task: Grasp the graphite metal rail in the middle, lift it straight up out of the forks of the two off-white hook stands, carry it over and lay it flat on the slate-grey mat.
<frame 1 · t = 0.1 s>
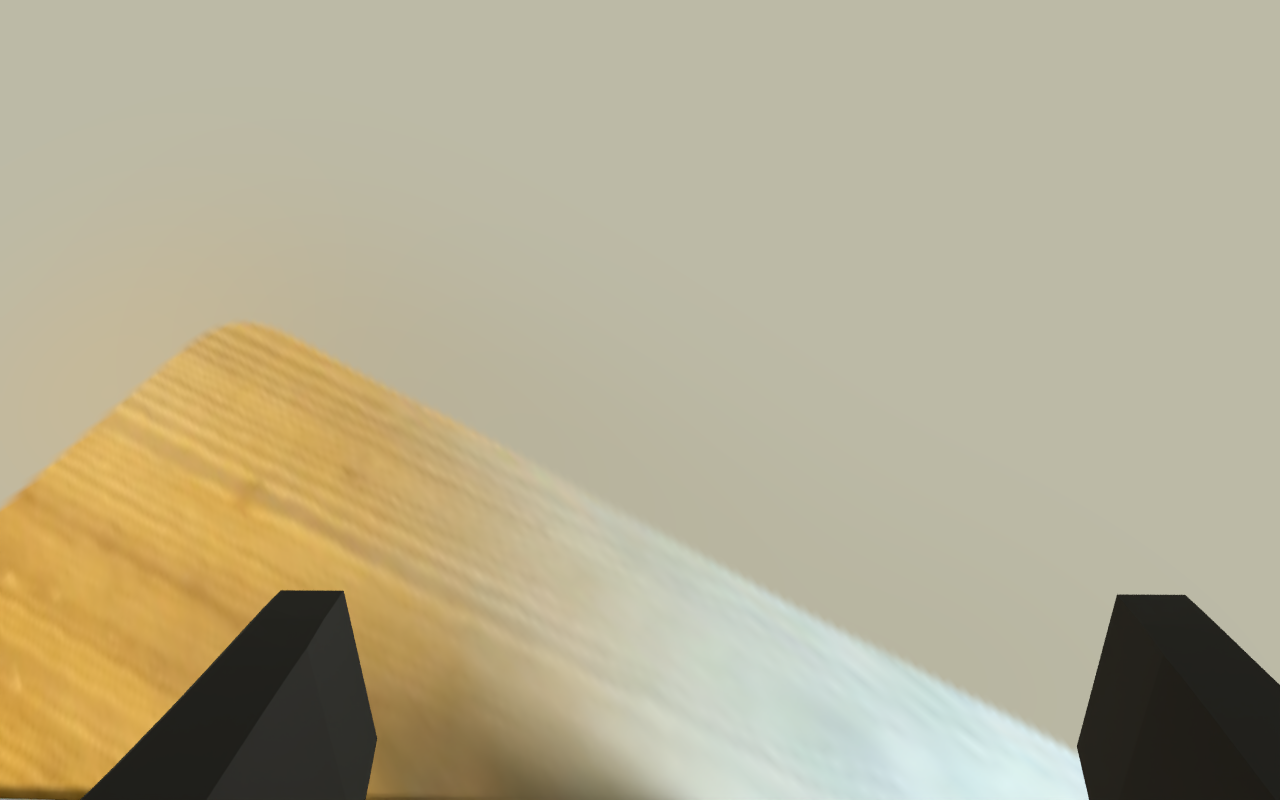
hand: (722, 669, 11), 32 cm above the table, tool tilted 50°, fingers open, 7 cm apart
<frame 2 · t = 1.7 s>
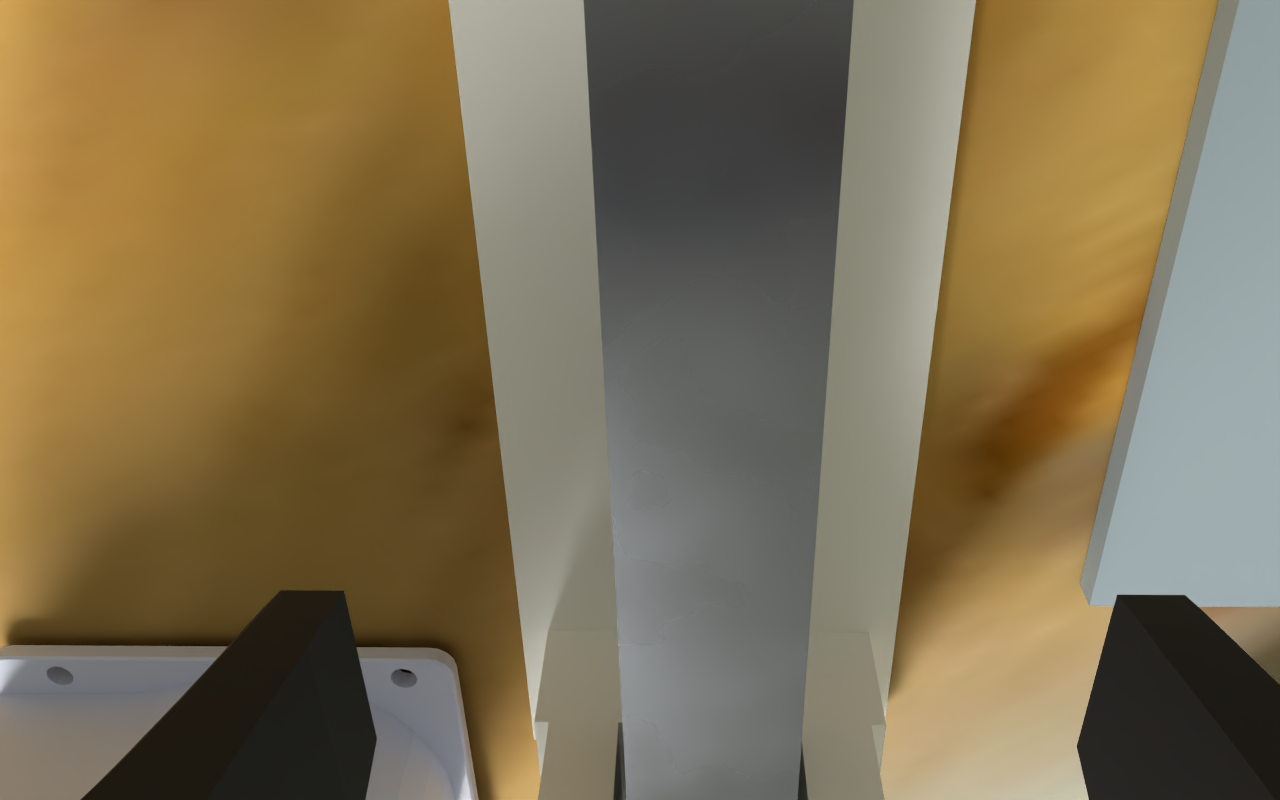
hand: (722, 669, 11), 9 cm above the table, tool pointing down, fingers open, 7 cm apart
rail: (710, 371, 16), point 3 cm above the table, touching hook stands
hook stands: (708, 275, 18), on the table
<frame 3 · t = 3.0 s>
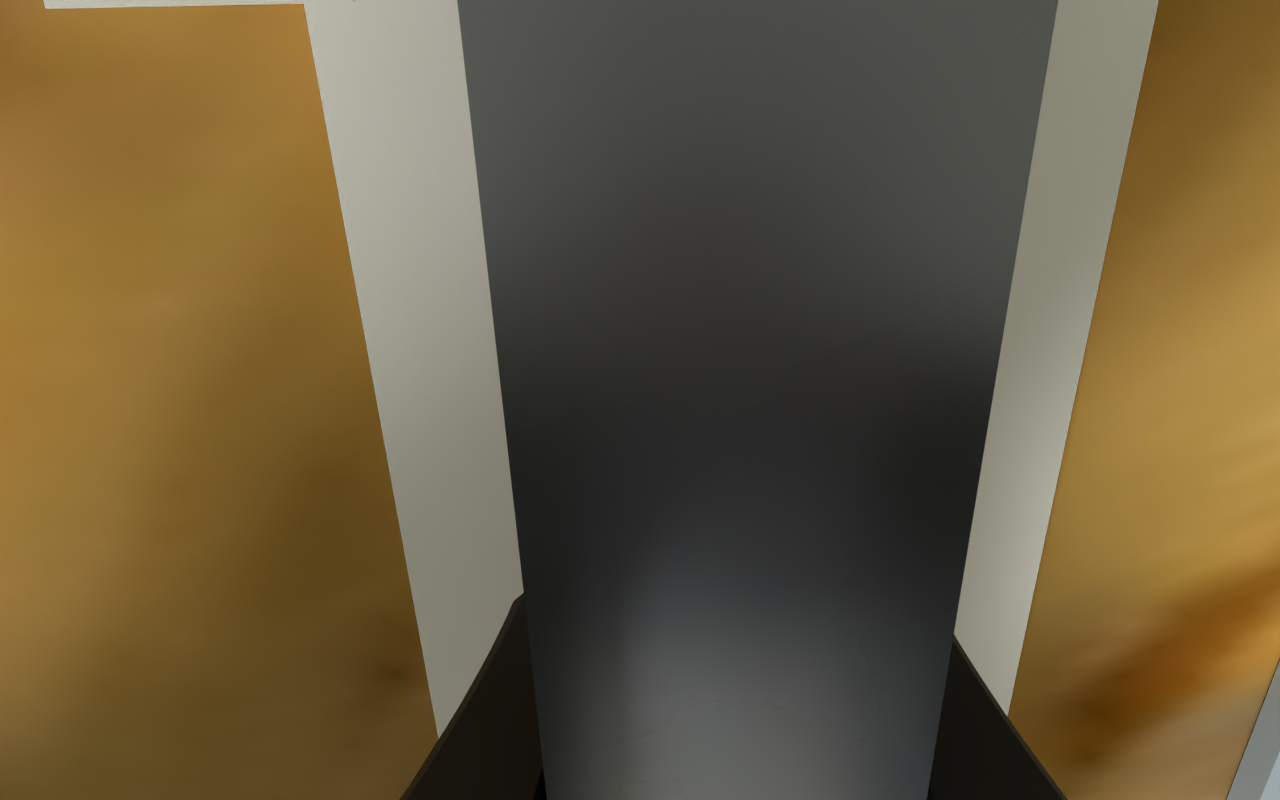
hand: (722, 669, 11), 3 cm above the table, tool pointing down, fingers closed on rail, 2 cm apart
rail: (723, 697, 11), point 3 cm above the table, touching gripper, hook stands
hook stands: (717, 499, 13), on the table
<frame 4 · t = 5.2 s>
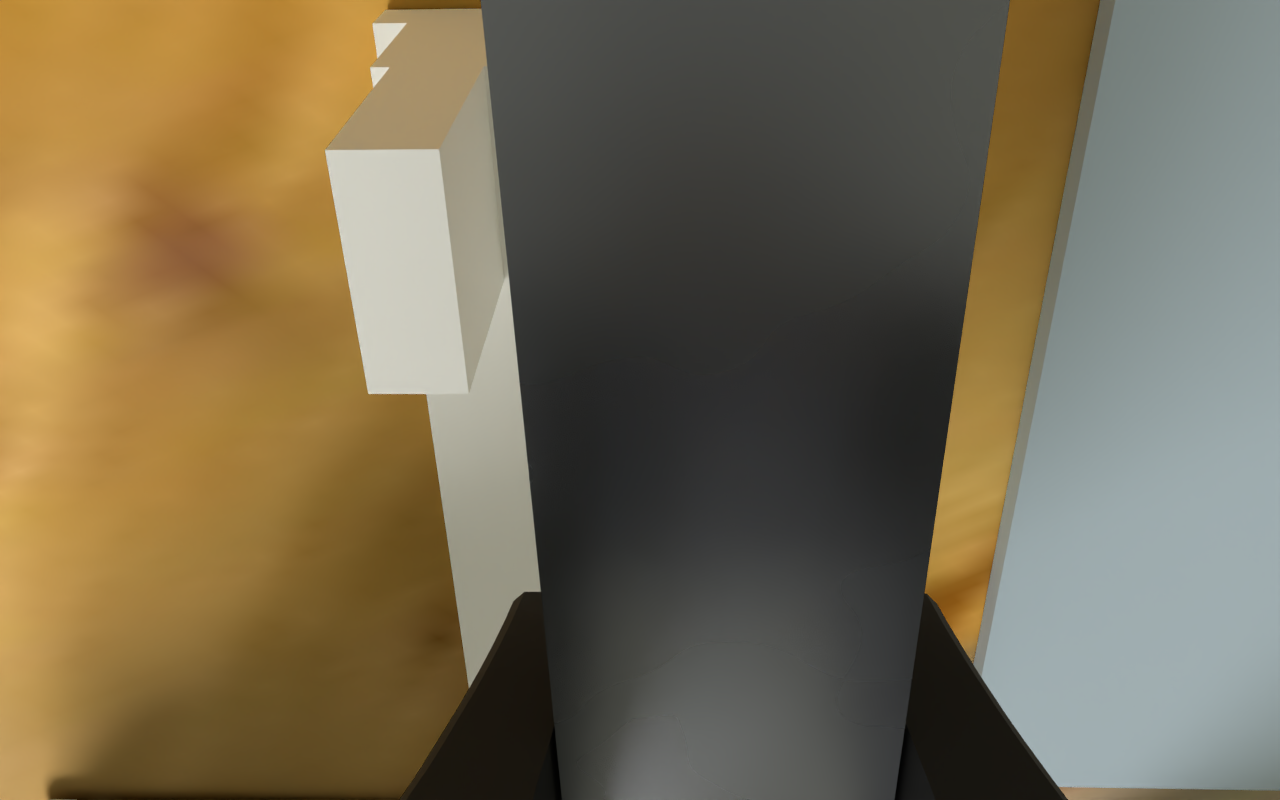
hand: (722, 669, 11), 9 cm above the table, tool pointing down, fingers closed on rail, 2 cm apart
rail: (719, 654, 11), point 9 cm above the table, touching gripper
hook stands: (635, 533, 22), on the table
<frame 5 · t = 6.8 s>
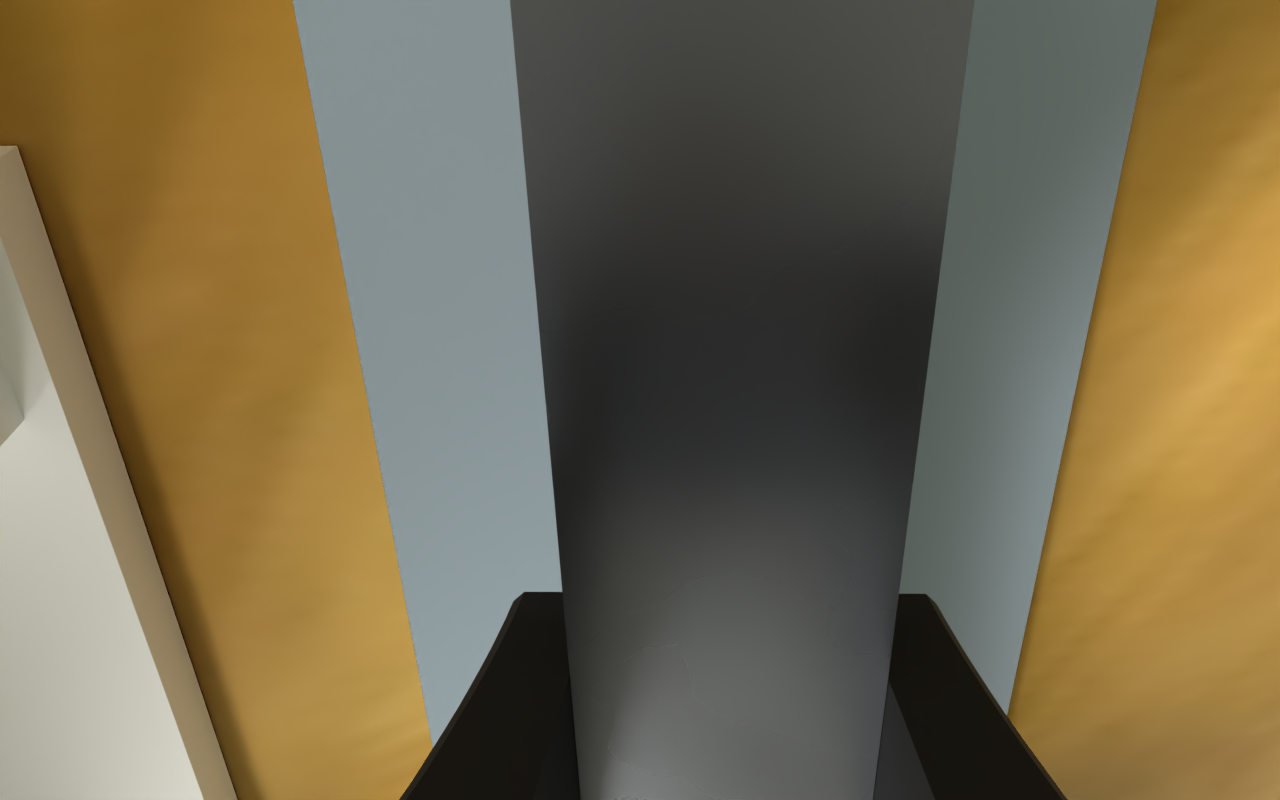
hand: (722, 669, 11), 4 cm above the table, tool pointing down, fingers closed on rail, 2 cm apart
mat: (714, 449, 14), on the table
rail: (719, 605, 12), point 3 cm above the table, touching gripper
hook stands: (7, 765, 18), on the table
when the fingers open (2 cm above the table, at t = 7.5 s): rail stays where it is, resting on mat.
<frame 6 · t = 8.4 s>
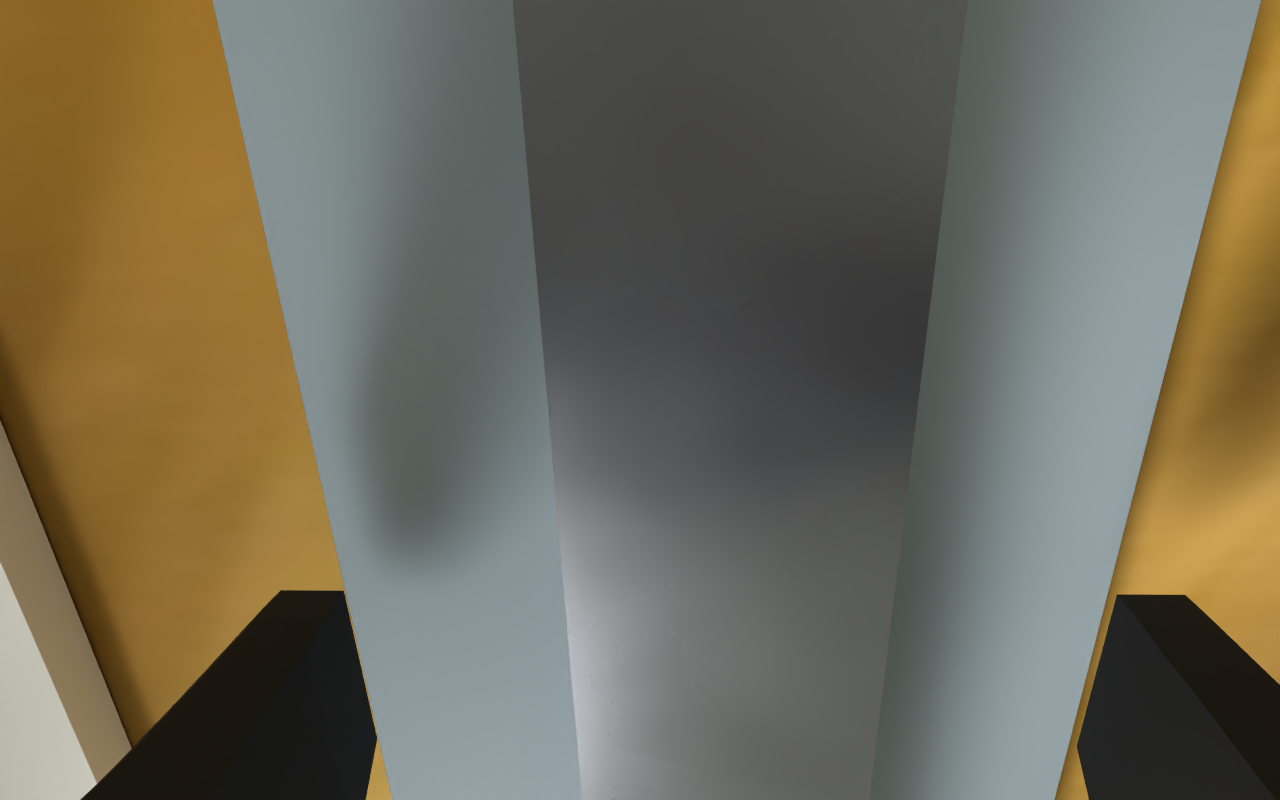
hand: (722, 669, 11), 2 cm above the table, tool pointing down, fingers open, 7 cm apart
mat: (719, 547, 12), on the table
rail: (718, 598, 12), point 1 cm above the table, touching mat
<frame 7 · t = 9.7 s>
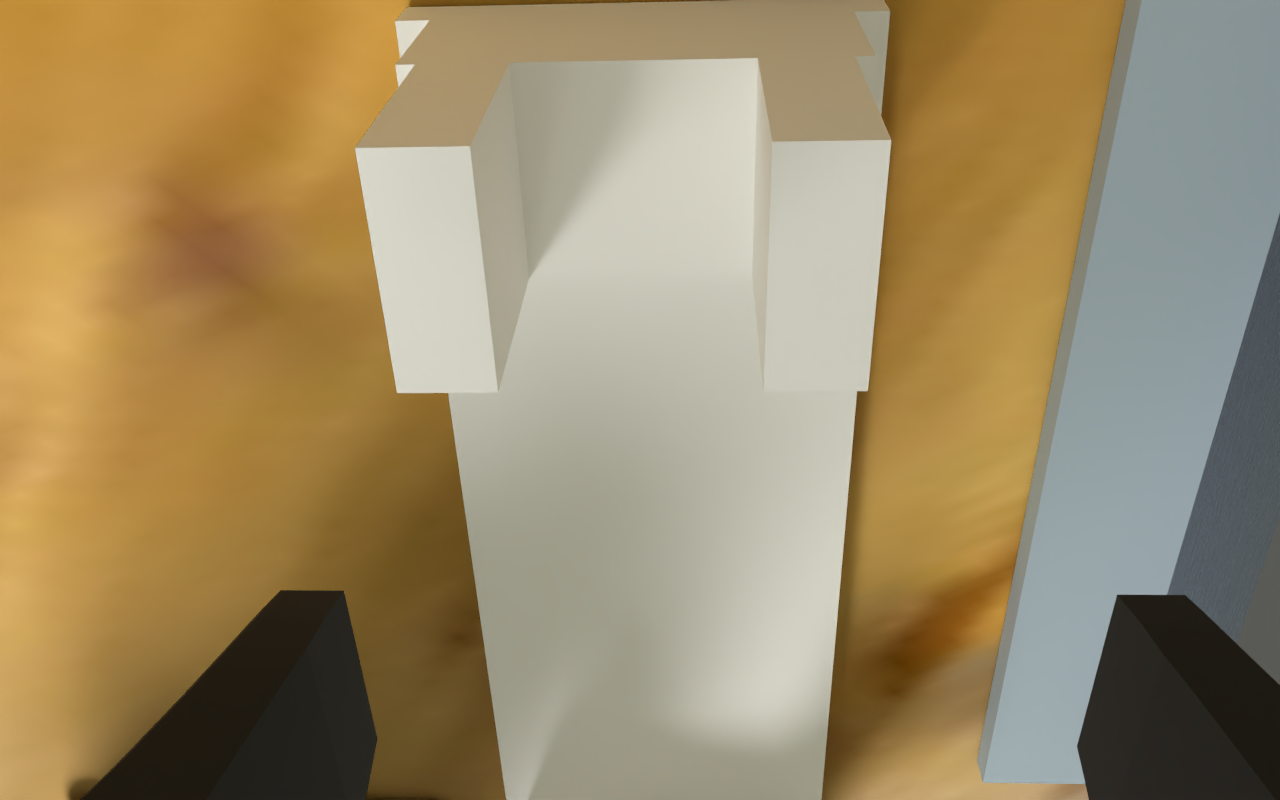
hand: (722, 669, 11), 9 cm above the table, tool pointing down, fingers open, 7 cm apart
hook stands: (656, 532, 22), on the table
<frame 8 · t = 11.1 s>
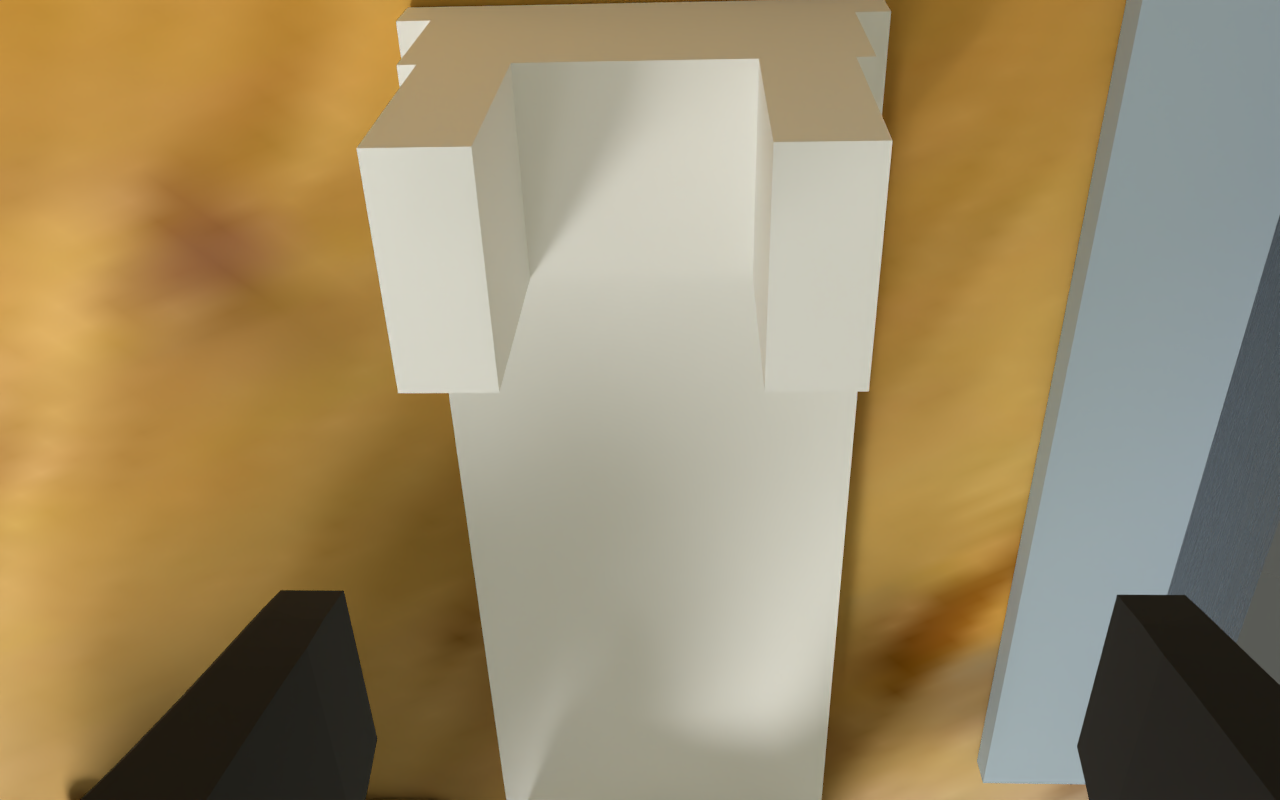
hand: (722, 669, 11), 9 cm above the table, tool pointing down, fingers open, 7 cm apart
hook stands: (657, 532, 22), on the table
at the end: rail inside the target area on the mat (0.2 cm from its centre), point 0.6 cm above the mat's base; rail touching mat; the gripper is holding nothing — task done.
